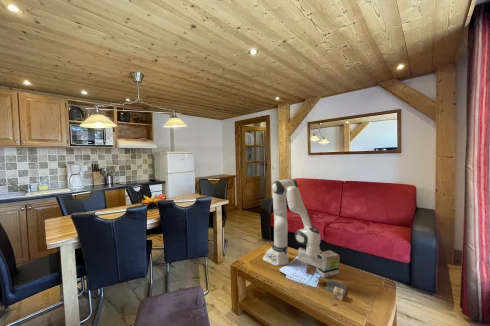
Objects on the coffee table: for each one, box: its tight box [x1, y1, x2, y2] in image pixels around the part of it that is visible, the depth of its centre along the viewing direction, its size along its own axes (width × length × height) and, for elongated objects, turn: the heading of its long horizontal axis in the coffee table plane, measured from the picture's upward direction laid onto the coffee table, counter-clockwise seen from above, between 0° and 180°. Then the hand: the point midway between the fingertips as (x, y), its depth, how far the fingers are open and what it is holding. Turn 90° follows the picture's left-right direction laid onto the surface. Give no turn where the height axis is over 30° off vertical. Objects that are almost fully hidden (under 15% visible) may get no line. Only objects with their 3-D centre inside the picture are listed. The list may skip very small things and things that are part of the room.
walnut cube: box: [305, 264, 316, 276], centre depth 150 cm, size 5×5×5 cm
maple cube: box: [332, 287, 344, 302], centre depth 136 cm, size 5×5×5 cm
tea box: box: [316, 249, 341, 278], centre depth 163 cm, size 15×10×15 cm
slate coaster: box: [324, 279, 348, 297], centre depth 145 cm, size 12×12×1 cm
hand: (311, 270), depth 150 cm, fingers closed on walnut cube, 5 cm apart
